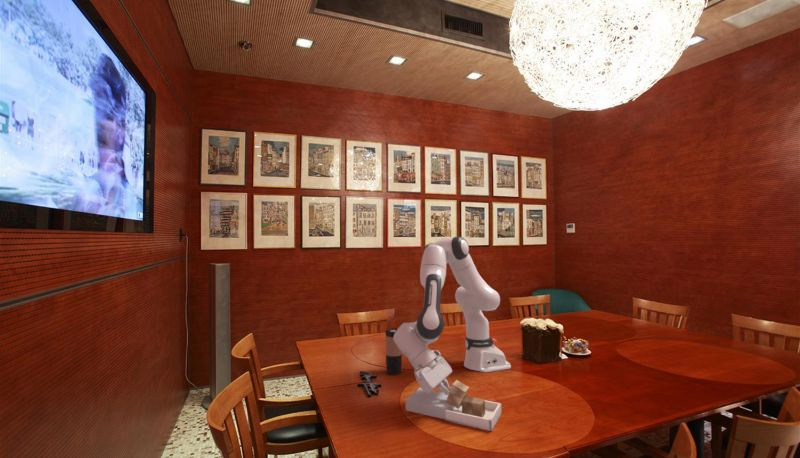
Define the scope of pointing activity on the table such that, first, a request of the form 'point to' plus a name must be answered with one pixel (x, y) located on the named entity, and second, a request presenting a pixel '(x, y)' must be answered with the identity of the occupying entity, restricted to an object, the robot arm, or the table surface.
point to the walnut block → (473, 406)
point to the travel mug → (392, 354)
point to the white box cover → (428, 403)
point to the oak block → (457, 394)
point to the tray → (483, 422)
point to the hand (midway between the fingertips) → (449, 392)
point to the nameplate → (369, 383)
